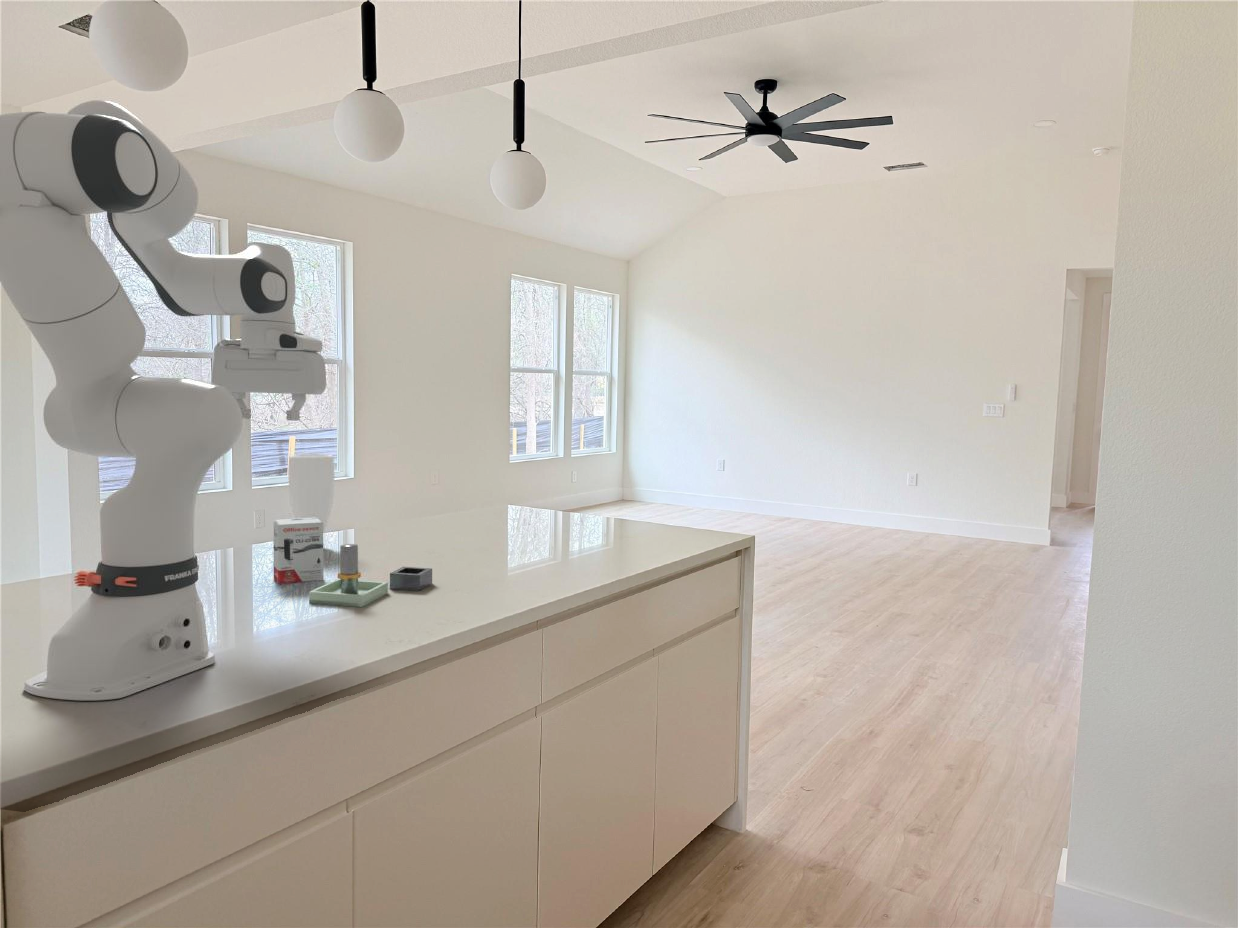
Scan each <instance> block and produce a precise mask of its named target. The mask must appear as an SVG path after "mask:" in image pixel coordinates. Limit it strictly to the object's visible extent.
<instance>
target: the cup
mask: <svg viewBox="0 0 1238 928" xmlns="http://www.w3.org/2000/svg"><path fill="white" fill-rule="evenodd" d="M288 460H289V461H288V490H289V501H290V504H291V505H290V506H291V509H292V513H293V519H297V518H312V517H316V518H318V519H320V520H321V521H322V522H323V534H324V532H325V530H326V527H327V524H328V523H329V520H330V516H331V512H332V505H333V502H334V501H333V500H334V495H335V462H334V460H335V459H334V455H333V454H326V453H324V454H323V453H299V454H298V453H297V454H296V453H295V454H291V455H290V456H289V457H288Z"/></svg>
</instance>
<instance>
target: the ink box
mask: <svg viewBox="0 0 1238 928" xmlns="http://www.w3.org/2000/svg"><path fill="white" fill-rule="evenodd" d="M273 580H275V582H276V583H277V584H279V585H282V584H293V583H295V584H296V583H302V582H312V581H313V582H315V581H323V580H324V533H323V522H322V521H321V520H320V519H318V518H316V517H312V518H297V519H295V518H284V519H282V518H281V519H275V520H274V521H273Z"/></svg>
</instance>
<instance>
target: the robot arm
mask: <svg viewBox="0 0 1238 928" xmlns="http://www.w3.org/2000/svg"><path fill="white" fill-rule="evenodd" d="M198 191H199V190H198V187H197V185H196V183H195V181H194V179H193V177H192V174H190V172H189V170H188V169H187V168H186V167H185V165H183V162H181V161H180V160H179V158H177V156H176V155H175V154H174V153H173V152H172V150H171V149H170V148H169V147H168V146H167V145H166V144H165V143H164V142H163V141H162V140H161V139H160V138H159V137H158V135H156V134H155V133H154V131H152V130H151V129H150V128H149V127H148V126H147V125H146V124H144V123H143V122H142V121H141V120H140V119H139V118H138V117H136V116H135V115H134V114H132V113H131V112H130V111H128V110H127V109H126V108H124V107H123V106H121V105H119V104H118V103H114V102H113V101H108V100H101V99H99V100H97V99H95V100H88V101H85V102H81V103H79V104H78V105H76V106H74V107H73V108H71V109H70V110H69V111H68V112H67V113H57V112H56V113H55V112H52V113H51V112H50V113H49V112H44V111H20V112H11V113H4V114H0V284H1V286H2V288H3V289H4V291H5V293H6V295H7V296H8V297H7V298H9V301H10V302H11V303H12V305H13V307H14V308H15V310H16V311H17V313H18V314H19V315H20V316H19V317H21V319H22V320H23V322H24V323H25V325H26V326H27V327H28V329H29V330H30V332H31V333H32V336H33V337H34V338H35V340H36V341H37V343H38V345H39V347H40V348H41V350H42V351H43V352H44V355H45V356H46V357H47V359H48V361H49V362H50V365H51V368H52V369H53V372H54V375H55V383H56V384H55V387H53V388H52V389H51V391H50V392H49V394H48V396H47V398H46V400H45V402H44V407H43V412H42V413H43V414H42V415H43V423H44V426H45V427H44V428H45V429H46V431H47V433H48V435H49V437H50V438H51V439H52V441H53V442H54V443H55V444H56V445H58V446H59V447H61V448H63V449H66V450H70V451H74V452H78V453H82V454H86V455H90V456H94V457H100V458H102V457H103V458H105V457H106V458H127V459H129V458H131V459H135V464H134V469H133V470H134V471H133V474H132V475H131V479H130V481H129V482H128V483H127V485H126V486H123V487H122V488H120V489H119V490H116V491H115V492H112V493H111V494H110V495H109V496H108V497H107V498H106V499H104V501H103V503H102V504H101V507H100V511H99V515H100V516H99V522H100V552H101V554H100V555H101V558H100V559H101V560H99V562H98V564H97V567H96V570H95V571H90V572H89V571H86V570H79V571H77V573H76V575H74V579H73V581H74V584H75V585H76V586H77V587H88V588H90V591H91V594H90V595H89V596H88V598H87V599H86V600H85V601H84V602H83V603H82V604H81V606H80V607H79V608H78V609H77V610H76V611H75V612H73V614H72V615H71V616H70V617H69V619H68V620H67V621H66V622H65V623H64V624H63V625H62V626H61V627H60V628H59V629H58V630H57V631H56V633H54V635H52V637H51V639H50V642H49V646H48V650H47V659H46V660H47V661H46V663H47V664H46V665H47V666H46V669H45V670H44V671H42V672H40V673H38V674H36V675H34V676H32V677H31V678H29V679H27V680H25V681H24V687H23V688H24V691H25V692H27V693H29V694H31V695H34V696H38V697H43V698H47V699H55V700H56V699H57V700H69V701H106V700H107V701H108V700H116V699H122V698H124V697H127V696H130V695H133V694H136V693H138V692H141V691H143V690H146V689H148V688H152V687H154V686H157V685H160V684H162V683H165V682H167V681H170V680H173V679H176V678H178V677H181V676H184V675H186V674H189V673H191V672H194V671H197V670H200V669H203V668H205V667H208V666H210V665H213V664H215V663H216V658H215V654H214V653H213V652H212V651H210V649H209V642H208V641H209V639H208V634H207V633H208V632H207V623H206V616H205V611H204V605H203V602H202V600H201V598H200V596H199V593H198V591H197V587H196V583H197V582H198V581H199V570H200V569H199V568H200V567H199V566H200V565H199V562H198V556H197V555H196V554H195V545H194V544H195V539H194V537H195V535H194V533H195V511H196V510H195V508H196V502H197V501H196V500H197V497H198V494H199V491H200V489H201V488H200V487H201V486H202V483H203V480H204V478H205V476H206V475H207V473H208V471H209V470H210V469H211V467H212V466H213V465H214V464H215V463H216V462H217V461H218V460H219V459H220V458H221V457H223V456H224V455H225V454H227V453H228V452H230V451H231V449H232V448H233V447H234V446H235V445H236V443H237V442H238V440H239V438H240V435H241V433H242V428H243V419H245V420H249V419H251V417H252V414H251V413H252V409H251V408H247V405H246V403H245V401H244V400H245V399H246V398H247V397H246V396H247V394H246V393H252V394H253V393H260V394H284V395H285V394H290V395H291V400H292V401H293V404H292V406H291V409H290V410H289V409H288V410H286V416H285V418H286V419H285V420H286V421H296V422H297V421H300V414H301V412H300V411H302V408H303V406H304V405H305V403H306V401H307V395H323V394H324V392H325V391H326V388H327V372H326V370H327V369H326V362H325V359H324V357H323V356H322V354H321V353H320V352H322V351H323V342H322V340H321V339H318V338H315V337H313V336H309V335H307V334H304V333H301V332H300V331H297V330H296V328H297V327H296V320H295V319H296V318H295V316H294V306H295V303H296V277H295V267H294V262H293V259H292V254H291V252H290V251H289V250H288V249H287V248H285V247H284V246H281V245H280V244H277V243H276V244H275V243H272V242H269V241H261V240H259V241H257V240H256V241H251V242H247V243H245V245H244V248H243V251H241V252H238V253H235V254H225V255H224V254H223V255H222V254H194V253H187V252H182V251H179V250H177V249H176V248H175V247H174V246H173V244H172V243H171V242H170V240H169V239H170V238H173V237H175V236H177V235H178V234H180V233H182V232H183V230H185V229H186V227H188V225H190V223H191V221H192V220H193V219H194V217H195V214H196V213H197V208H198V204H199V194H198V193H199V192H198ZM100 213H106V218H107V222H108V225H109V229H111V232H113V235H114V237H116V239H117V240H118V242H119V244H121V246H122V248H124V249H125V251H126V252H127V253H128V254H129V256H130V257H131V258H132V259H133V260H134V262H135V264H137V266H138V267H139V268H140V269H141V270H142V272H143V273H144V275H145V276H147V278H148V279H149V281H150V282H151V283H152V285H153V287H154V289H155V291H156V293H157V296H158V297H159V299H160V301H161V302H162V303H163V304H164V306H165V307H167V309H168V310H170V311H171V312H172V313H173V314H174V315H177V316H179V317H184V318H185V317H187V318H188V317H198V316H199V317H200V316H202V317H203V316H240V319H239V322H240V323H239V324H240V325H239V328H240V330H239V332H240V338H237V339H229V338H228V339H227V338H225V339H224V338H223V339H221V341H220V342H218V343H216V345H215V346H214V348H213V349H214V350H213V357H214V358H213V361H212V368H211V369H212V370H211V382H208V381H204V380H198V379H193V378H185V377H184V378H183V377H149V376H148V377H147V376H142V375H141V374H139V373H138V372H136V371H135V370H134V369H133V368H132V363H134V362H135V361H136V360H137V359H138V358H139V356H140V355H141V354H142V352H143V350H144V348H145V343H146V336H147V335H146V334H147V333H146V327H145V324H144V323H143V321H142V319H141V317H140V316H139V313H137V310H136V308H135V306H134V305H133V303H132V302H131V300H130V298H129V295H128V294H127V292H126V290H125V289H124V287H123V285H122V283H121V282H120V280H119V278H118V276H117V274H116V273H115V271H114V270H113V268H112V267H111V264H109V262H108V260H107V259H106V257H105V255H104V254H103V253H102V251H101V249H99V247H98V246H97V244H96V243H95V241H94V240H93V239H92V238H91V236H90V235H89V232H88V227H87V224H86V223H87V222H86V215H91V214H92V215H93V214H100Z"/></svg>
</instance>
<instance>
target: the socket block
mask: <svg viewBox="0 0 1238 928" xmlns="http://www.w3.org/2000/svg"><path fill="white" fill-rule="evenodd" d="M432 584H433V568H429V567H428V568H427V567H414V566H413V567H412V566H401V567H400V568H397V569H396V570H393V571H391V572H390V573H389V589H390V590H402V591H414V592H416V591H417V592H421V591H422V590H424V589H427V588H428V587H429V586H431V585H432Z"/></svg>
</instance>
